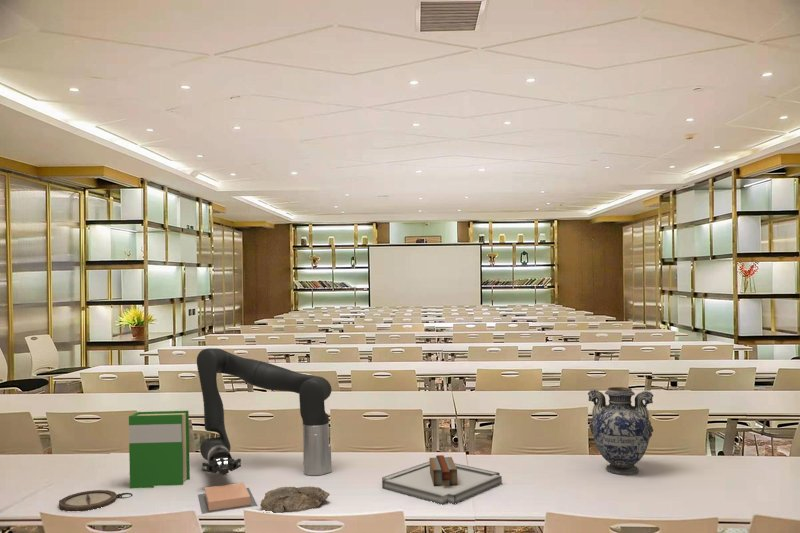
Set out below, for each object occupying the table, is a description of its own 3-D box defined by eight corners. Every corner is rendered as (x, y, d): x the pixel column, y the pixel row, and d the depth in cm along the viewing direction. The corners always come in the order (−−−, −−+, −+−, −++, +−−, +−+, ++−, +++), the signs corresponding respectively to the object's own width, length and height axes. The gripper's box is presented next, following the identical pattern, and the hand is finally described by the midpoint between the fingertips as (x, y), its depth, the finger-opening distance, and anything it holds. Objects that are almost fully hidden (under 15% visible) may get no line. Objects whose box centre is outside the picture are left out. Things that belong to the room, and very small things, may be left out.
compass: (46, 514, 196) (46, 507, 196) (73, 496, 212) (73, 490, 212) (113, 512, 196) (113, 505, 196) (135, 494, 212) (135, 488, 212)
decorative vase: (586, 475, 218) (584, 391, 219) (592, 461, 235) (590, 383, 236) (655, 481, 210) (652, 394, 211) (656, 466, 227) (653, 385, 228)
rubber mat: (248, 489, 213) (248, 487, 213) (257, 507, 195) (257, 505, 195) (197, 496, 207) (197, 494, 207) (201, 515, 190) (201, 513, 190)
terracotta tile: (243, 482, 209) (250, 496, 195) (243, 491, 209) (250, 505, 195) (204, 487, 205) (208, 502, 191) (205, 496, 205) (208, 511, 191)
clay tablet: (331, 496, 205) (267, 498, 204) (330, 480, 205) (266, 482, 204) (328, 513, 191) (259, 515, 190) (328, 496, 191) (259, 498, 190)
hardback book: (189, 480, 225) (188, 410, 226) (182, 486, 218) (181, 414, 218) (138, 481, 225) (137, 411, 226) (129, 488, 218) (128, 416, 219)
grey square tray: (376, 488, 212) (376, 465, 212) (435, 468, 234) (435, 447, 234) (449, 508, 192) (448, 483, 192) (506, 483, 214) (505, 460, 214)
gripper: (199, 449, 220) (202, 462, 204) (239, 445, 225) (245, 457, 208) (199, 472, 220) (202, 486, 203) (239, 467, 224) (246, 481, 208)
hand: (224, 471), depth 206 cm, fingers closed
